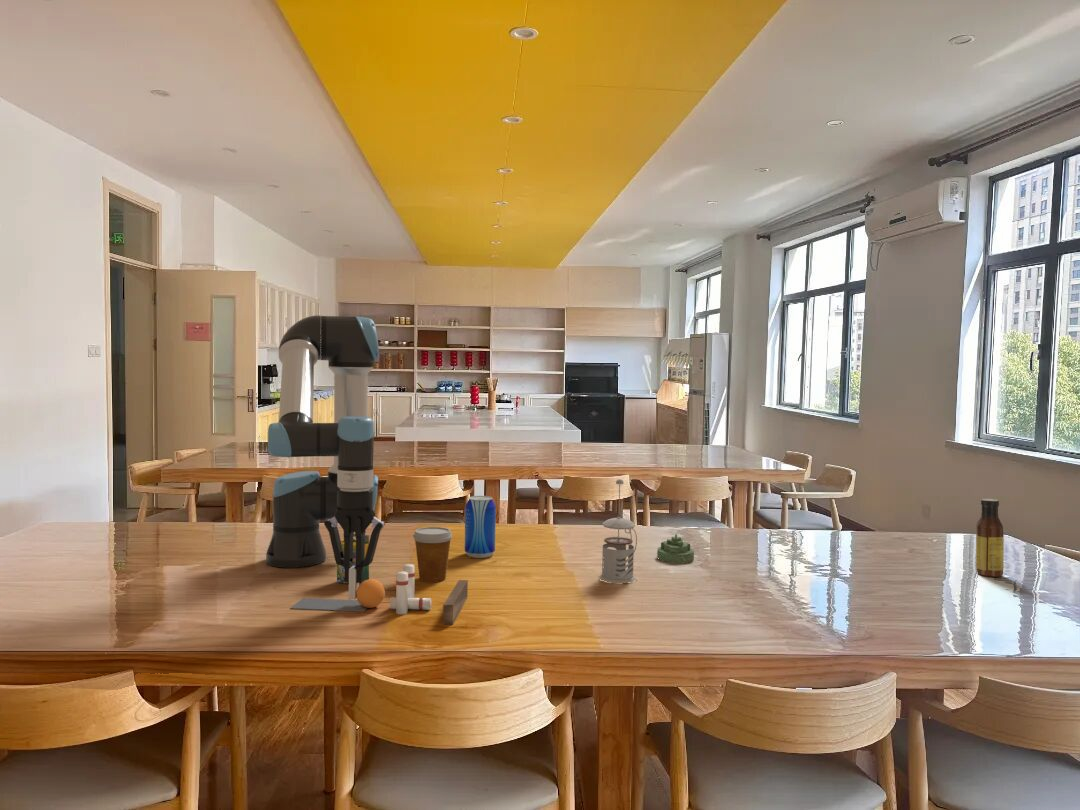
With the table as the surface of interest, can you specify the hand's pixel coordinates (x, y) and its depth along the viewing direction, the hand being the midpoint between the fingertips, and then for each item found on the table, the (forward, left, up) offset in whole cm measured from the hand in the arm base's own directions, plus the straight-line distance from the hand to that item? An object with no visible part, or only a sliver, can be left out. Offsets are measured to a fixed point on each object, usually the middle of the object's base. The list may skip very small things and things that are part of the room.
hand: (353, 597), depth 165 cm
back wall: (+22, 0, -2) cm, 22 cm away
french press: (+58, +30, -2) cm, 66 cm away
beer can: (+20, +48, -2) cm, 52 cm away
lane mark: (-5, 0, -2) cm, 5 cm away
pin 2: (+11, +3, -2) cm, 12 cm away
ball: (+4, 0, +1) cm, 4 cm away
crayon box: (-6, +17, -2) cm, 18 cm away
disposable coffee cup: (+12, +23, -2) cm, 26 cm away
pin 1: (+11, -3, -2) cm, 12 cm away
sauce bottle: (+155, +46, -2) cm, 162 cm away
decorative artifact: (+74, +52, -3) cm, 91 cm away
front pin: (+8, -1, -1) cm, 8 cm away
